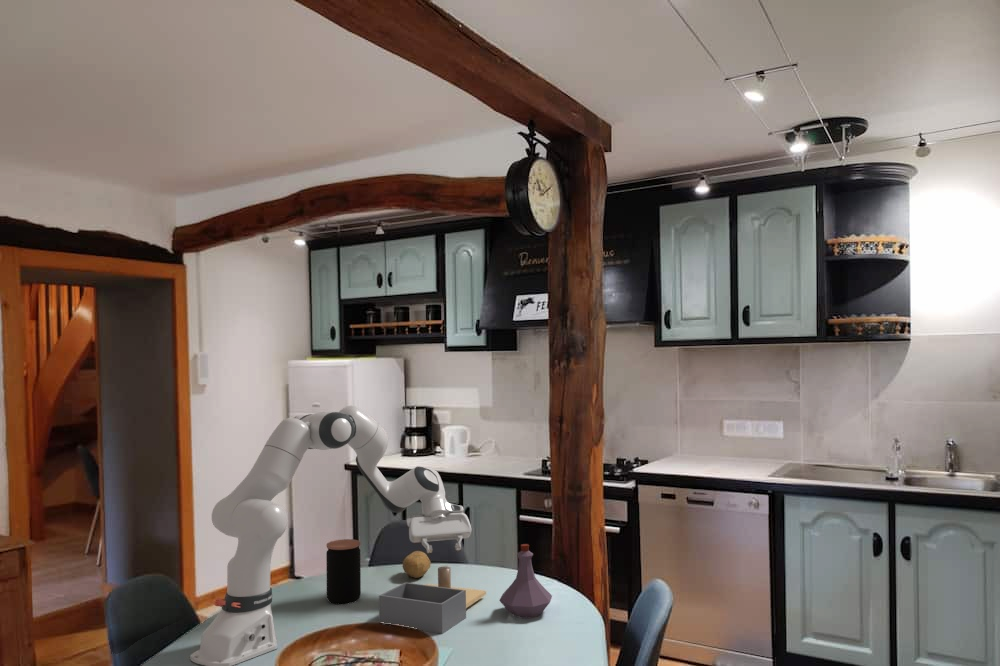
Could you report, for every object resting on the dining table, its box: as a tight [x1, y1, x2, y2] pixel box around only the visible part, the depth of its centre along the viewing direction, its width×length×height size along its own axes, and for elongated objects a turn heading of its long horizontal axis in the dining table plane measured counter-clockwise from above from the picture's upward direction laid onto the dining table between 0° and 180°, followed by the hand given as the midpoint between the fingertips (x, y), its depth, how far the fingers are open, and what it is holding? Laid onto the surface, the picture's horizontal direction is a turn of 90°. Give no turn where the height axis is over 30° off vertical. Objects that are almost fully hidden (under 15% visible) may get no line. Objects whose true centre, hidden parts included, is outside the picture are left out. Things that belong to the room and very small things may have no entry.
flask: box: [499, 543, 553, 618], centre depth 217 cm, size 16×16×20 cm
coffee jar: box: [325, 538, 362, 605], centre depth 232 cm, size 11×11×18 cm
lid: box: [424, 565, 487, 609], centre depth 229 cm, size 15×22×11 cm
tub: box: [378, 581, 467, 635], centre depth 211 cm, size 14×21×8 cm, turn 65°
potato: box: [402, 550, 432, 579], centre depth 256 cm, size 10×14×8 cm
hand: (444, 550), depth 228 cm, fingers open, 8 cm apart
